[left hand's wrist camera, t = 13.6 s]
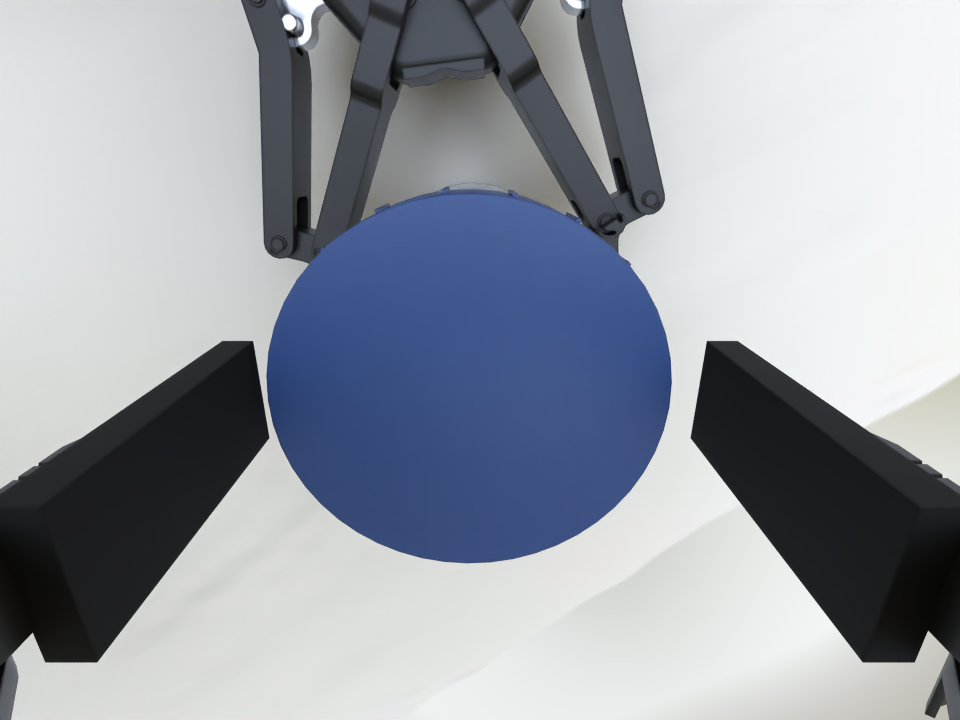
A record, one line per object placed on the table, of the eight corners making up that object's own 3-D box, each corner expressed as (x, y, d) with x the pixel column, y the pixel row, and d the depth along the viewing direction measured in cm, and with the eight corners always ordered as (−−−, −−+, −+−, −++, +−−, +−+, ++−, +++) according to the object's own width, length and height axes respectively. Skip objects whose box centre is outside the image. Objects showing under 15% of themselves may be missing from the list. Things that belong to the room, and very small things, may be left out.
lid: (720, 346, 14) (758, 375, 12) (495, 566, 17) (497, 618, 15) (436, 97, 12) (429, 83, 10) (228, 397, 15) (190, 432, 13)
